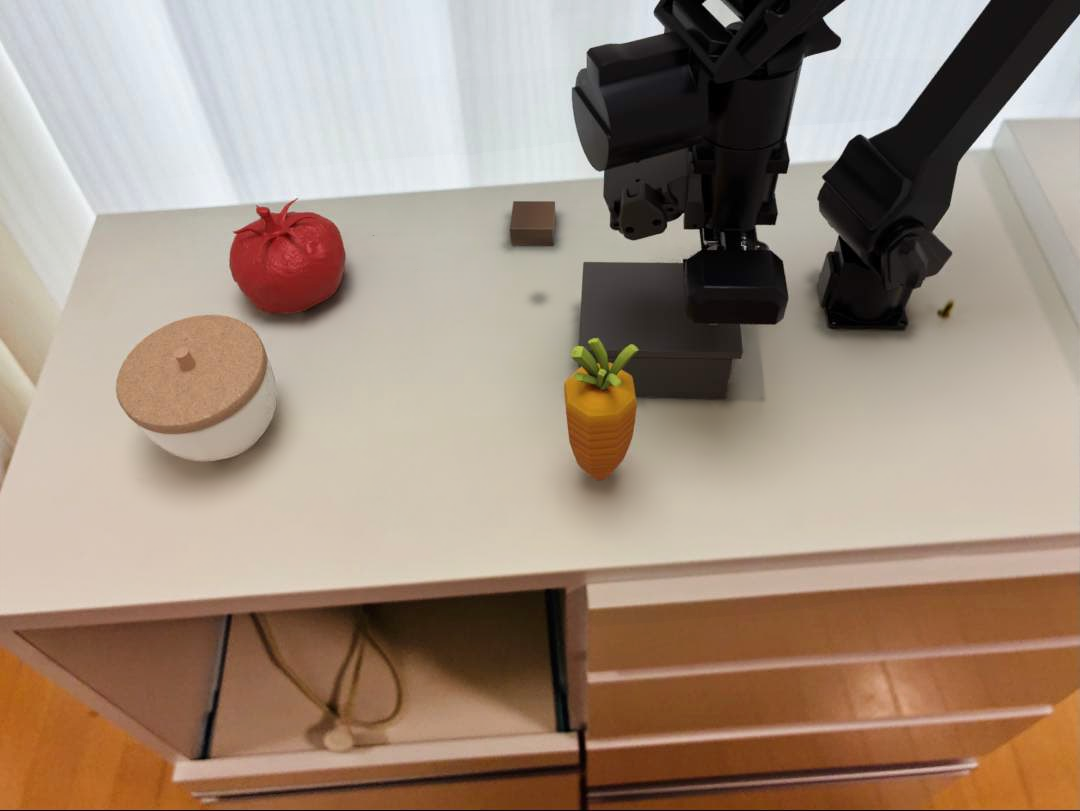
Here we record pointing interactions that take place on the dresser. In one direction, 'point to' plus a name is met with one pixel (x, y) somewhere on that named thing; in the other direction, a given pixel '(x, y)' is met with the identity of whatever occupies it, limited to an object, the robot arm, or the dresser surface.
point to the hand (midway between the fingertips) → (713, 300)
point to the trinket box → (199, 387)
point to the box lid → (648, 313)
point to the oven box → (678, 376)
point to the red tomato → (287, 260)
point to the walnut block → (533, 223)
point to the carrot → (600, 409)
